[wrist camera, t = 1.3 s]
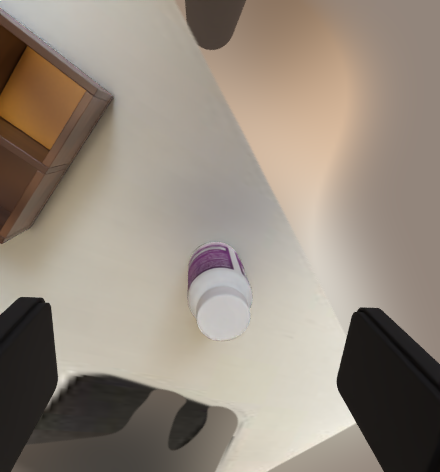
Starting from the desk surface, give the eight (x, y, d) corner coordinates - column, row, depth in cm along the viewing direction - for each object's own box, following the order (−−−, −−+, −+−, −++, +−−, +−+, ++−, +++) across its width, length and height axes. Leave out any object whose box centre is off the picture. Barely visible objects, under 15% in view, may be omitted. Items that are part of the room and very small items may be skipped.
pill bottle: (179, 275, 32) (173, 333, 22) (203, 231, 30) (207, 273, 21) (225, 296, 33) (237, 359, 24) (250, 254, 31) (273, 304, 22)
